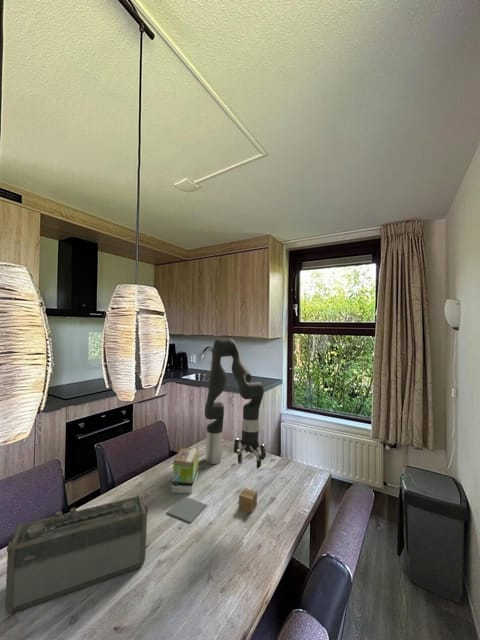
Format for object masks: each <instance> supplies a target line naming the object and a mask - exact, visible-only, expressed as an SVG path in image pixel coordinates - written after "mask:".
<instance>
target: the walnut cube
mask: <svg viewBox="0 0 480 640" xmlns="http://www.w3.org/2000/svg"><path fill="white" fill-rule="evenodd" d="M257 505H258V491H255V490H253V489H250V488H247V487H244V488H243V490H242V491H241V492H240V494H239V495H238V510H241V511H243V512H246V513H250V514H252V513H253V512H254V511H255V509H256V507H257Z"/></svg>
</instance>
